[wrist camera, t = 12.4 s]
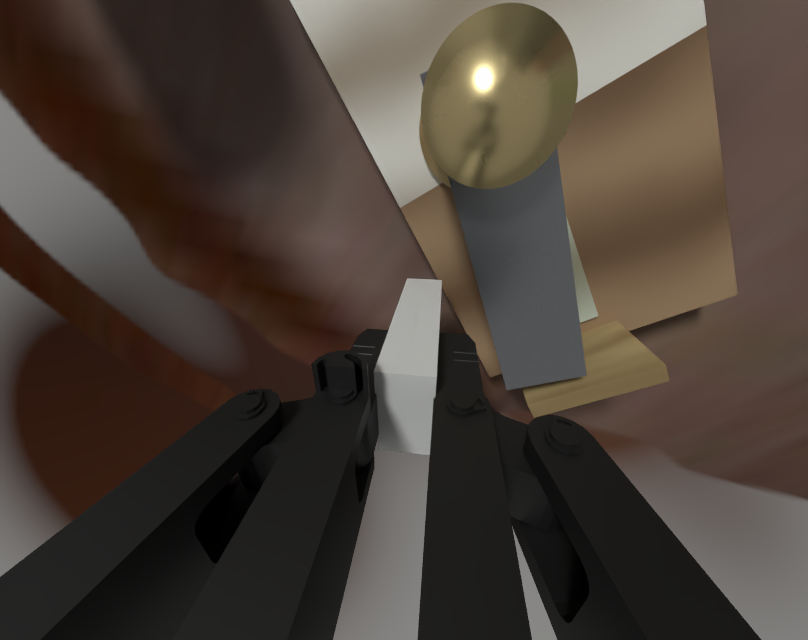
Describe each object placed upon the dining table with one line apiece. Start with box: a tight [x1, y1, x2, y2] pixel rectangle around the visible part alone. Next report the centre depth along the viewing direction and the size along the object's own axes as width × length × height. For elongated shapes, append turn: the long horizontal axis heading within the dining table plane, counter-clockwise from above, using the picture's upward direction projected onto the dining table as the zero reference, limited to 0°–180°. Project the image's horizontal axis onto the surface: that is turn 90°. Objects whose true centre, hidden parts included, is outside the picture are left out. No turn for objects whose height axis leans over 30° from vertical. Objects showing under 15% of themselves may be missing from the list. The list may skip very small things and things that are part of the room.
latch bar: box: [420, 3, 587, 390], centre depth 10 cm, size 11×4×4 cm, turn 20°
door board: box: [290, 0, 737, 418], centre depth 10 cm, size 20×11×6 cm, turn 29°
